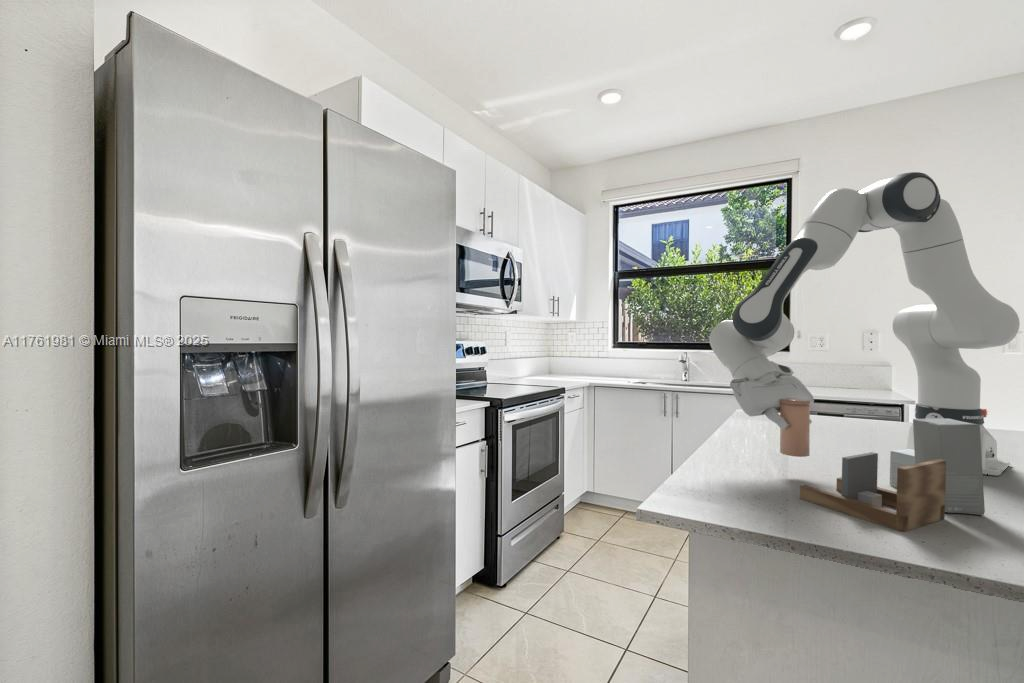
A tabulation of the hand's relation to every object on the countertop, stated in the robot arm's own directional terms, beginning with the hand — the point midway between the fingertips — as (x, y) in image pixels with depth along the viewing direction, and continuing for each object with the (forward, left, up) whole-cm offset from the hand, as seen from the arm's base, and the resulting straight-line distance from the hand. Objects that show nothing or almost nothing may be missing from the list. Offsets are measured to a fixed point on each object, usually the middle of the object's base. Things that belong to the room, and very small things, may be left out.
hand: (797, 426), depth 107 cm
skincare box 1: (-15, +15, -11) cm, 24 cm away
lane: (+6, +18, -11) cm, 22 cm away
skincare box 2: (-8, +23, -11) cm, 27 cm away
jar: (0, -1, -6) cm, 6 cm away
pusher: (+6, +17, -11) cm, 22 cm away
